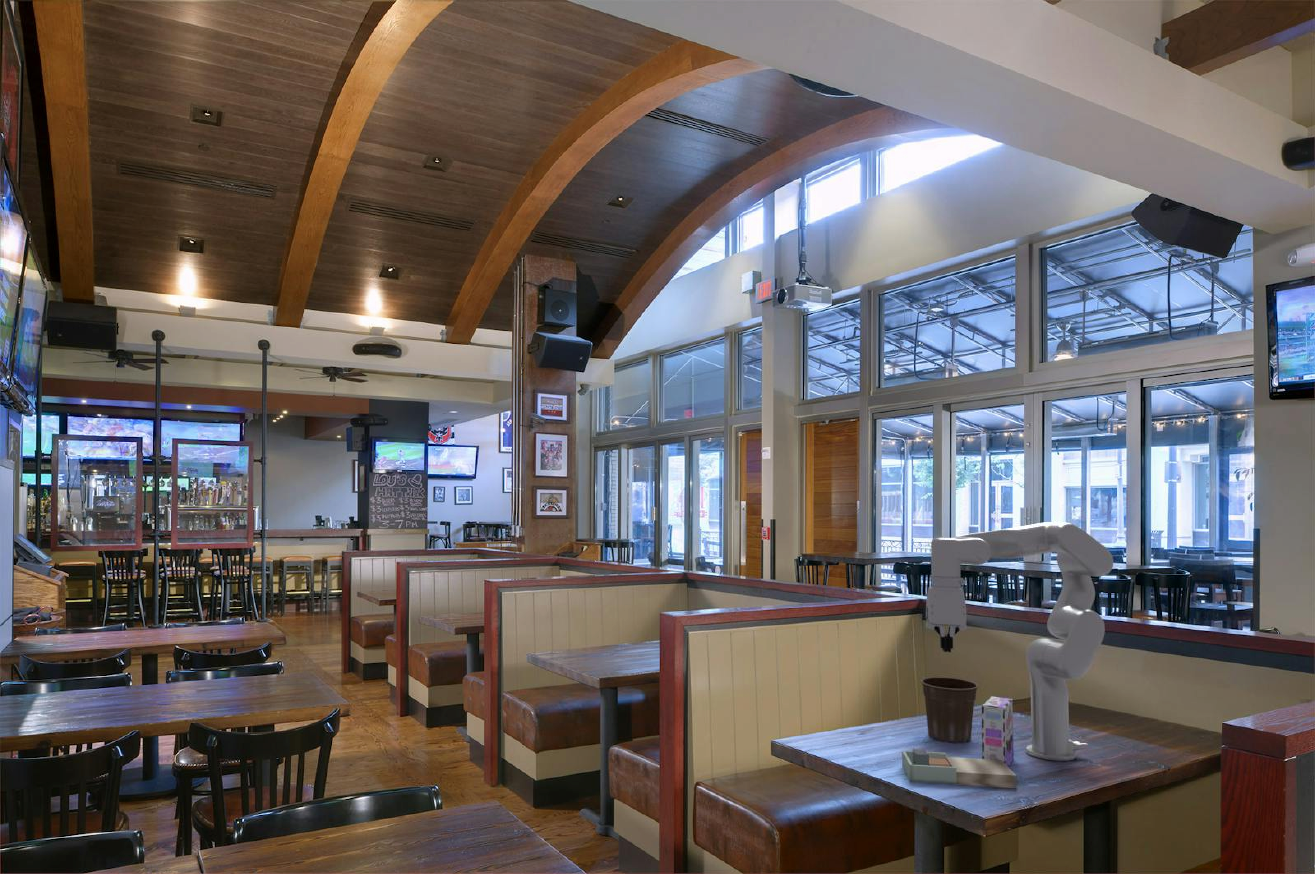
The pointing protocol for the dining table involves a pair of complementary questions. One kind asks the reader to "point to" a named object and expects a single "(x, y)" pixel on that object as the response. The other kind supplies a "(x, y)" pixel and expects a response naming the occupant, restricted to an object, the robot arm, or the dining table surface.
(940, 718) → the plant pot
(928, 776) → the tray
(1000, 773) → the tan wooden slab
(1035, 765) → the dining table surface
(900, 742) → the dining table surface
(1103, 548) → the robot arm
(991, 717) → the candy box
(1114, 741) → the dining table surface
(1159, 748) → the dining table surface
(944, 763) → the tile
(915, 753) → the tile
